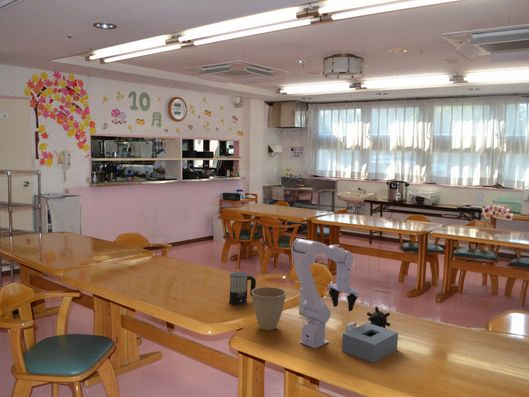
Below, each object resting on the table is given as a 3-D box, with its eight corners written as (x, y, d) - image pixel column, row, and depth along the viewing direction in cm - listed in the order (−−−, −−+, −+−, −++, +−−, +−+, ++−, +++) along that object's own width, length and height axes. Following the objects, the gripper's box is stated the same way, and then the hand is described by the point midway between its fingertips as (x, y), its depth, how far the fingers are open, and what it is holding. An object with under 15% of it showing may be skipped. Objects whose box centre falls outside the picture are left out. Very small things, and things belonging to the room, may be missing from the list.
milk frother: (235, 306, 227) (237, 277, 225) (217, 298, 238) (218, 270, 237) (258, 301, 236) (259, 273, 235) (239, 293, 248) (240, 266, 246)
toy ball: (384, 330, 195) (360, 317, 202) (385, 339, 203) (362, 326, 209) (395, 311, 199) (371, 299, 206) (396, 321, 207) (373, 309, 213)
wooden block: (349, 337, 194) (350, 325, 193) (345, 335, 195) (345, 324, 195) (355, 334, 197) (356, 322, 197) (351, 332, 199) (352, 321, 198)
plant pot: (267, 318, 211) (268, 284, 210) (291, 328, 201) (293, 292, 199) (243, 326, 201) (244, 290, 199) (267, 336, 190) (268, 299, 189)
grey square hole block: (373, 363, 170) (374, 344, 169) (341, 351, 179) (342, 333, 178) (397, 349, 183) (398, 332, 182) (366, 338, 192) (367, 322, 191)
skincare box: (305, 310, 225) (306, 286, 224) (312, 312, 223) (314, 288, 222) (298, 313, 221) (299, 288, 220) (305, 315, 218) (306, 290, 217)
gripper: (363, 279, 193) (362, 310, 195) (334, 272, 203) (334, 301, 205) (354, 283, 188) (353, 314, 190) (325, 275, 198) (325, 306, 200)
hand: (343, 308), depth 197 cm, fingers open, 7 cm apart
